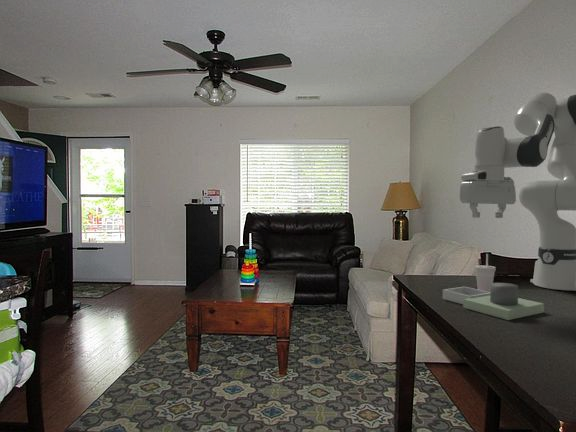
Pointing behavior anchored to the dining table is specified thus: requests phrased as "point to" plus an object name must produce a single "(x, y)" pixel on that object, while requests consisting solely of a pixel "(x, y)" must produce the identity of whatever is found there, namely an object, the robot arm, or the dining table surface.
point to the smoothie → (484, 276)
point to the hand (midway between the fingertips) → (487, 217)
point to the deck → (502, 309)
